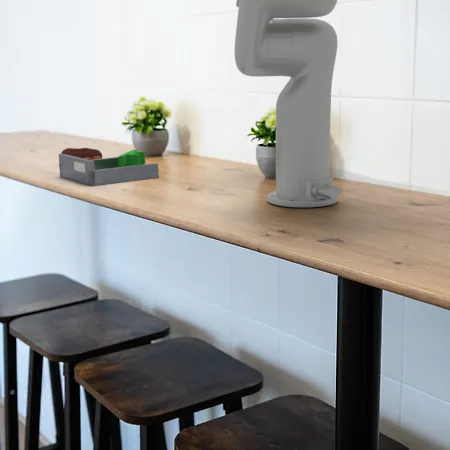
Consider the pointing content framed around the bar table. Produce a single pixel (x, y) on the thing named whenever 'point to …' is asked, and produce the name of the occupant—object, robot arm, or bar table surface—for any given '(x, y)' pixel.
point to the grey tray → (103, 170)
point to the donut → (83, 153)
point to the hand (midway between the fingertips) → (258, 36)
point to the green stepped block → (132, 158)
